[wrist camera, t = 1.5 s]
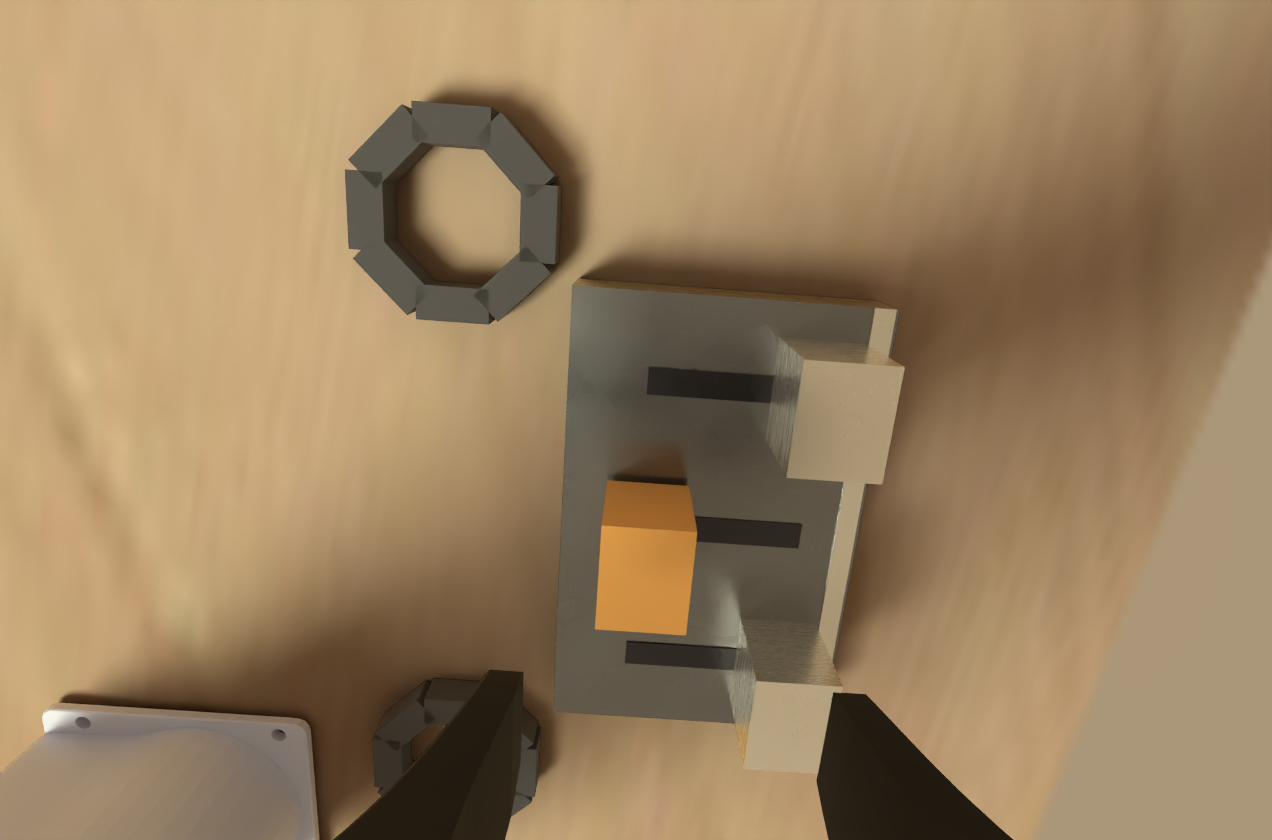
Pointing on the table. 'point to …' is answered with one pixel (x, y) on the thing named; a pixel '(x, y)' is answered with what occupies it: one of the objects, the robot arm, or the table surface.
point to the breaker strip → (725, 498)
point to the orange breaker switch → (646, 558)
